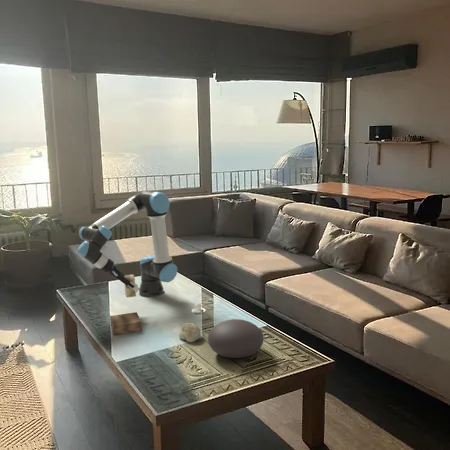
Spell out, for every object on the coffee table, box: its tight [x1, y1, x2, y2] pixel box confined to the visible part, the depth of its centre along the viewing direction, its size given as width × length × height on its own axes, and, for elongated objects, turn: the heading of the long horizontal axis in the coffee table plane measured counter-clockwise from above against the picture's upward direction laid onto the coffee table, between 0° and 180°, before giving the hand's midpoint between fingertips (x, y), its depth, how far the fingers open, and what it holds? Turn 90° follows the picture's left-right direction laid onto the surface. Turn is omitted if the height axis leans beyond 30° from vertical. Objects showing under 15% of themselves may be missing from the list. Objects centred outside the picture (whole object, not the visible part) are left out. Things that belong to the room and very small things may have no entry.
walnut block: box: [109, 312, 143, 336], centre depth 253 cm, size 14×14×5 cm
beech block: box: [124, 273, 137, 298], centre depth 269 cm, size 5×5×11 cm
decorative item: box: [178, 322, 201, 343], centre depth 240 cm, size 12×9×10 cm
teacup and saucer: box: [191, 303, 207, 314], centre depth 275 cm, size 9×8×4 cm
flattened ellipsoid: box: [207, 318, 264, 359], centre depth 220 cm, size 25×25×15 cm
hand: (137, 288), depth 271 cm, fingers closed on beech block, 5 cm apart
